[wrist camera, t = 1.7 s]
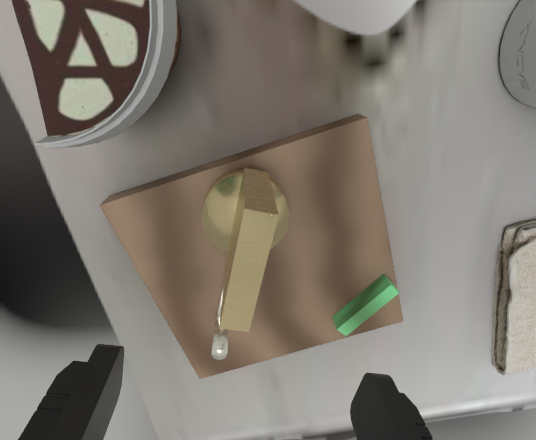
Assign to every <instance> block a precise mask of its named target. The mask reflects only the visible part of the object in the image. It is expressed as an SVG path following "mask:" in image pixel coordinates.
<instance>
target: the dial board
mask: <svg viewBox="0 0 536 440" xmlns="http://www.w3.org/2000/svg"><path fill="white" fill-rule="evenodd" d="M240 168H250V169H256V170H260V171H264V172H268V173H269V176H271V177H272V178H273V179H274V180H275V181H276V182H277V183H278V184H279V185H280V187H281V189H282V190H283V193H284V196H285V199H286V202H287V205H288V209H289V224H288V228H287V230H286V233H285V235H284V236H283V238H282V239H281V240H280V241H279V243H278V244H277V245H275V246H274V247H273V248H271V249H270V251H269V255H268V259H267V263H266V267H265V271H264V275H263V279H262V283H261V287H260V291H259V295H258V298H257V302H256V306H255V310H254V314H253V318H252V322H251V326H250V330H249V332H245V331H237V330H229V336H228V353H227V357H226V358H225V359H222V360H217V359H214V358H213V357H212V355H211V353H212V344H213V336H214V327H215V318H216V315H217V314H218V309H219V304H220V299H221V294H222V289H223V284H224V274H225V264H226V257H227V252H225V251H223V250H221V249H219V248H218V247H217V246H216V245H214V244H213V243H212V242H211V240H210V239H209V238H208V236H207V234H206V233H205V230H204V228H203V223H202V209H203V205H204V202H205V198H206V195H207V193H208V190H209V188H210V187H211V185H212V184H213V183H214V181H215V180H216V179H217V178H219V177H220V176H221V175H223V174H225V173H226V172H229V171H231V170H235V169H240ZM100 207H101V208H102V210H103V212H104V214H105V215H106V217H107V219H108V221H109V222H110V224H111V226H112V228H113V229H114V231H115V233H116V235H117V236H118V238H119V240H120V241H121V243H122V245H123V247H124V248H125V250H126V252H127V254H128V255H129V257H130V259H131V261H132V262H133V264H134V266H135V267H136V269H137V271H138V273H139V274H140V276H141V278H142V280H143V281H144V283H145V285H146V287H147V288H148V290H149V292H150V294H151V295H152V297H153V299H154V300H155V302H156V304H157V306H158V307H159V309H160V311H161V313H162V314H163V316H164V318H165V320H166V321H167V323H168V325H169V326H170V328H171V330H172V332H173V333H174V335H175V337H176V339H177V340H178V342H179V344H180V346H181V347H182V349H183V351H184V352H185V354H186V356H187V358H188V359H189V361H190V363H191V365H192V366H193V368H194V370H195V372H196V373H197V375H198V377H199V379H201V378H205V377H208V376H212V375H215V374H219V373H222V372H226V371H230V370H233V369H237V368H240V367H244V366H247V365H251V364H254V363H258V362H261V361H265V360H268V359H272V358H275V357H279V356H282V355H286V354H289V353H293V352H296V351H300V350H303V349H307V348H310V347H314V346H317V345H321V344H324V343H328V342H331V341H335V340H338V339H342V338H345V337H349V336H352V335H356V334H359V333H363V332H366V331H370V330H373V329H377V328H380V327H384V326H387V325H391V324H394V323H398V322H401V321H403V317H402V312H401V306H400V300H399V295H398V294H399V293H400V292H399V291H398V289H397V283H396V278H395V272H394V267H393V261H392V255H391V250H390V244H389V238H388V233H387V227H386V221H385V216H384V210H383V205H382V199H381V193H380V188H379V182H378V176H377V171H376V165H375V159H374V154H373V148H372V142H371V137H370V131H369V126H368V120H367V117H365V116H362V115H359V114H356V115H353V116H350V117H347V118H344V119H341V120H338V121H335V122H332V123H329V124H326V125H323V126H320V127H317V128H314V129H311V130H308V131H305V132H302V133H299V134H296V135H293V136H290V137H287V138H284V139H281V140H278V141H274V142H271V143H268V144H265V145H262V146H259V147H256V148H253V149H250V150H247V151H244V152H241V153H238V154H235V155H232V156H229V157H226V158H223V159H220V160H217V161H214V162H211V163H208V164H205V165H202V166H199V167H196V168H193V169H189V170H186V171H183V172H180V173H177V174H174V175H171V176H168V177H165V178H162V179H159V180H156V181H153V182H150V183H147V184H144V185H141V186H138V187H135V188H132V189H129V190H126V191H123V192H120V193H117V194H114V195H111V196H109V197H108V198H107V199H106V200H105V201H104V202H103V203H101V204H100Z"/></svg>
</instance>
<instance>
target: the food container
mask: <svg viewBox="0 0 536 440" xmlns="http://www.w3.org/2000/svg"><path fill="white" fill-rule="evenodd" d="M12 3H13V7H14V10H15V14H16V17H17V21H18V24H19V27H20V30H21V33H22V36H23V39H24V42H25V46H26V49H27V52H28V56H29V59H30V63H31V66H32V70H33V74H34V78H35V83H36V87H37V91H38V95H39V100H40V104H41V108H42V113H43V117H44V122H45V126H46V130H47V135H48V136H47V137H45V138H43V139H41V140H40V141H38V142H36V143H34V144H35V145H44V148H65V147H80V146H84V145H89V144H93V143H98V142H101V141H103V140H106V139H108V138H111V137H113V136H115V135H117V134H119V133H120V132H122V131H124V130H125V129H127V128H128V127H130V126H131V125H133V124H134V123H135V122H136V121H137V120H138V119H139V118H140V117H141V116H142V115H144V114H145V113H146V111H147V110H148V109H149V107H150V106H151V105H152V103H153V102H154V101H155V99H156V98H157V97H158V95H159V93H160V91H161V89H162V87H163V85H164V83H165V81H166V79H167V77H168V75H169V74H170V72H171V70H172V68H173V66H174V64H175V63H176V61H177V57H178V52H179V47H180V42H181V27H180V20H179V14H178V11H177V6H176V0H12Z"/></svg>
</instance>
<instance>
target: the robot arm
mask: <svg viewBox="0 0 536 440" xmlns="http://www.w3.org/2000/svg"><path fill="white" fill-rule="evenodd" d="M499 61H500V69H501V76H502V78H503V81H504V84H505V86H506V88H507V89H508V91H509V92H510V93H511V95H512V96H513V97H514V98H516V99H517V100H518V101H519V102H521V103H523V104H526V105H528V106H531V107H536V0H521V1H520V2H519V4H518V5H517V7H516V8H515V10H514V11H513V13H512V15H511V17H510V20H509V22H508V24H507V26H506V29H505V32H504V35H503V39H502V43H501V49H500V60H499ZM123 358H124V347H123V346H114V345H104V344H98V345H97V346H96V347H95V349H94V351H93V353H92V355H91V356H90V358H89V360H88V362H80V361H73V362H72V363H71V364H70V365H69V366H67V367H66V368H65V369H64V370H62V371H61V372H60V373H59V374H58V375H57V376H56V378H55V379H54V381H53V383H52V384H51V386H50V388H49V389H48V391H47V393H46V396H44V398H43V399H42V401H41V403H40V404H39V406H38V408H37V411H35V413H34V414H33V416H32V418H31V419H30V421H29V423H28V424H27V426H26V428H25V429H24V431H23V433H22V434H21V436H20V437H19V439H18V440H103V438H104V436H105V433H106V430H107V428H108V425H109V422H110V420H111V417H112V414H113V411H114V409H115V406H116V403H117V400H118V397H119V393H120V389H121V384H122V373H123ZM350 414H351V421H352V425H353V428H354V431H355V434H356V437H357V440H432V436H431V434H430V432H429V430H428V428H427V427H425V422H424V421H423V419H422V417H421V415H420V413H419V411H418V409H417V407H416V406H415V405H414V404H413V403H412V402H411V401H410V400H409V398H408V397H407V396H406V395H405V394H404V393H399V391H398V389H397V387H396V385H395V383H394V381H393V379H392V378H391V377H390V376H389V375H384V374H374V373H366V374H365V375H364V377H363V379H362V381H361V383H360V385H359V388H358V390H357V392H356V394H355V396H354V398H353V401H352V403H351V410H350Z"/></svg>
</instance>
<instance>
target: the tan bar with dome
mask: <svg viewBox="0 0 536 440" xmlns="http://www.w3.org/2000/svg"><path fill="white" fill-rule="evenodd" d="M202 223H203V228H204V230H205V233H206V234H207V236H208V238H209V239H210V240H211V242H212V243H213V244H214V245H216V246H217V247H218V248H219V249H221V250H223V251H225V252H227V257H226V264H225V274H224V284H223V289H222V294H221V299H220V304H219V309H218V314H217V315H216V318H215V327H214V336H213V344H212V353H211V355H212V357H213V358H214V359H217V360H222V359H225V358H226V357H227V353H228V336H229V330H237V331H245V332H249V330H250V326H251V322H252V318H253V314H254V310H255V306H256V302H257V298H258V295H259V291H260V287H261V283H262V279H263V275H264V271H265V267H266V263H267V259H268V255H269V251H270V249H271V248H273V247H274V246H275V245H277V244H278V243H279V241H280V240H281V239H282V238H283V236H284V235H285V233H286V230H287V228H288V224H289V209H288V205H287V202H286V199H285V196H284V193H283V190H282V189H281V187H280V185H279V184H278V183H277V182H276V181H275V180H274V179H273V178H272V177H271V176H269V173H268V172H264V171H260V170H256V169H250V168H240V169H235V170H231V171H229V172H226V173H225V174H223V175H221V176H220V177H219V178H217V179H216V180H215V181H214V183H213V184H212V185H211V187H210V188H209V190H208V193H207V195H206V198H205V202H204V205H203V209H202Z"/></svg>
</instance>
